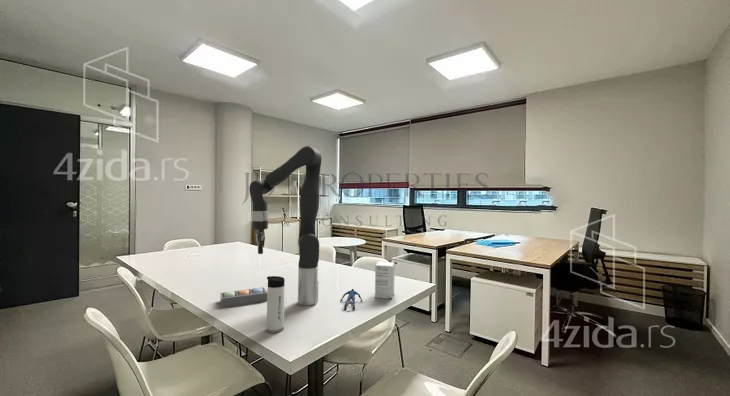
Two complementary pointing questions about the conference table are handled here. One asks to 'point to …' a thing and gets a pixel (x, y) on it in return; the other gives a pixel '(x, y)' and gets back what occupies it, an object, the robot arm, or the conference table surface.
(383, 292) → the supplement box
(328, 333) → the conference table surface
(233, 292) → the sage button
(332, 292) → the conference table surface
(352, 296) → the person figurine
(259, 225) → the robot arm
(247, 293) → the orange button
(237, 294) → the tray
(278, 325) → the travel mug
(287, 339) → the conference table surface
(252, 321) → the conference table surface
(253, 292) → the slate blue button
